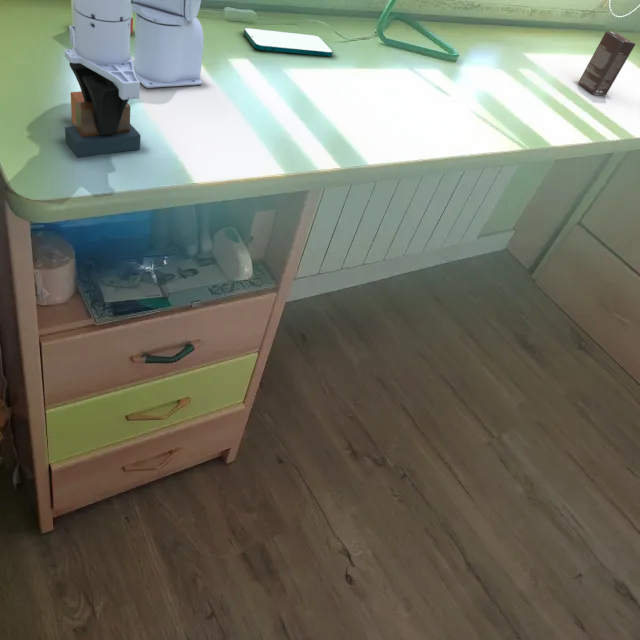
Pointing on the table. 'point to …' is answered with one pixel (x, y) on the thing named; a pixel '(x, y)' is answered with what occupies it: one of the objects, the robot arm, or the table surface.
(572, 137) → the table surface
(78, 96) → the reddish-orange block
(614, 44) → the box
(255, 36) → the smartphone
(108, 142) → the stepped two-tone block
